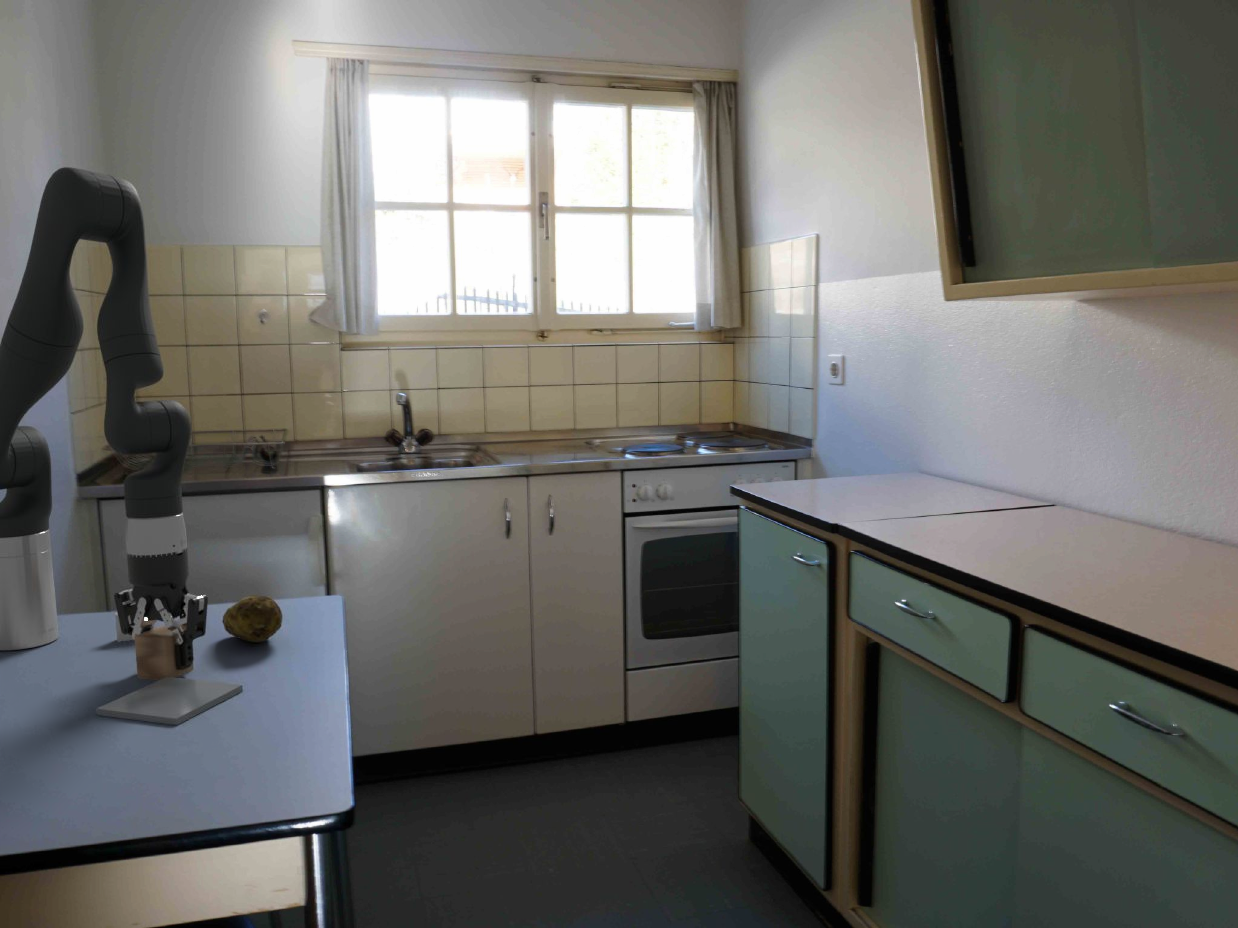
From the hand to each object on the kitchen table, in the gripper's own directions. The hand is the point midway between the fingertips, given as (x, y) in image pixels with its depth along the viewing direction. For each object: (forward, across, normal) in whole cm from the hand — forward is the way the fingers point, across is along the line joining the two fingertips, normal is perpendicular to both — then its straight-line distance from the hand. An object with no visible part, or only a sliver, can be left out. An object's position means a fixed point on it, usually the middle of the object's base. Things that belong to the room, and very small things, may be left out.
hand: (165, 665), depth 136 cm
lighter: (+1, -16, +13) cm, 21 cm away
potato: (+1, +3, +15) cm, 15 cm away
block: (+1, 0, 0) cm, 1 cm away
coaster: (+1, +9, -9) cm, 13 cm away
